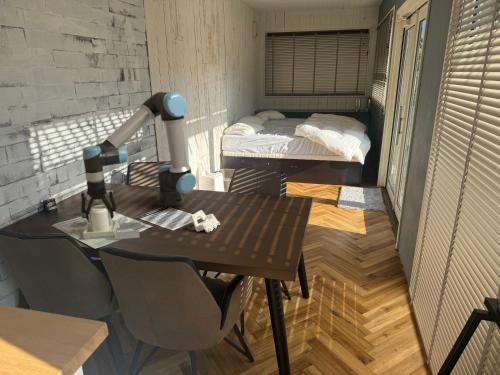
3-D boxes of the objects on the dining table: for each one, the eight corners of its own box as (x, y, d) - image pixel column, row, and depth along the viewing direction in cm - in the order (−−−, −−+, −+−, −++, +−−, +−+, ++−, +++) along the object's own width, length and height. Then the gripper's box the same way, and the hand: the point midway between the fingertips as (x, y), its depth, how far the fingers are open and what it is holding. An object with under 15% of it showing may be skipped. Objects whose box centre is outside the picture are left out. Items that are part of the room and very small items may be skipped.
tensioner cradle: (141, 227, 174) (140, 221, 173) (139, 237, 162) (138, 231, 162) (120, 228, 171) (119, 223, 170) (116, 239, 160) (116, 233, 159)
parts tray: (118, 225, 176) (118, 219, 175) (115, 236, 163) (114, 230, 162) (89, 227, 172) (89, 222, 172) (83, 239, 160) (83, 233, 159)
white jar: (100, 235, 162) (97, 211, 159) (89, 231, 166) (85, 208, 162) (114, 229, 169) (111, 206, 165) (103, 225, 173) (100, 203, 169)
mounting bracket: (212, 227, 179) (204, 208, 178) (221, 224, 176) (213, 205, 175) (198, 236, 169) (190, 215, 168) (208, 233, 166) (200, 213, 165)
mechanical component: (103, 217, 184) (101, 200, 181) (86, 216, 186) (84, 198, 183) (107, 215, 187) (105, 198, 184) (90, 214, 189) (87, 197, 186)
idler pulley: (99, 221, 179) (97, 208, 177) (96, 227, 173) (95, 213, 171) (84, 222, 178) (82, 209, 176) (81, 228, 171) (79, 215, 169)
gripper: (120, 176, 166) (124, 220, 172) (72, 179, 161) (79, 223, 168) (118, 181, 159) (123, 226, 165) (68, 183, 154) (75, 230, 161)
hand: (101, 225), depth 167 cm, fingers closed on white jar, 8 cm apart
